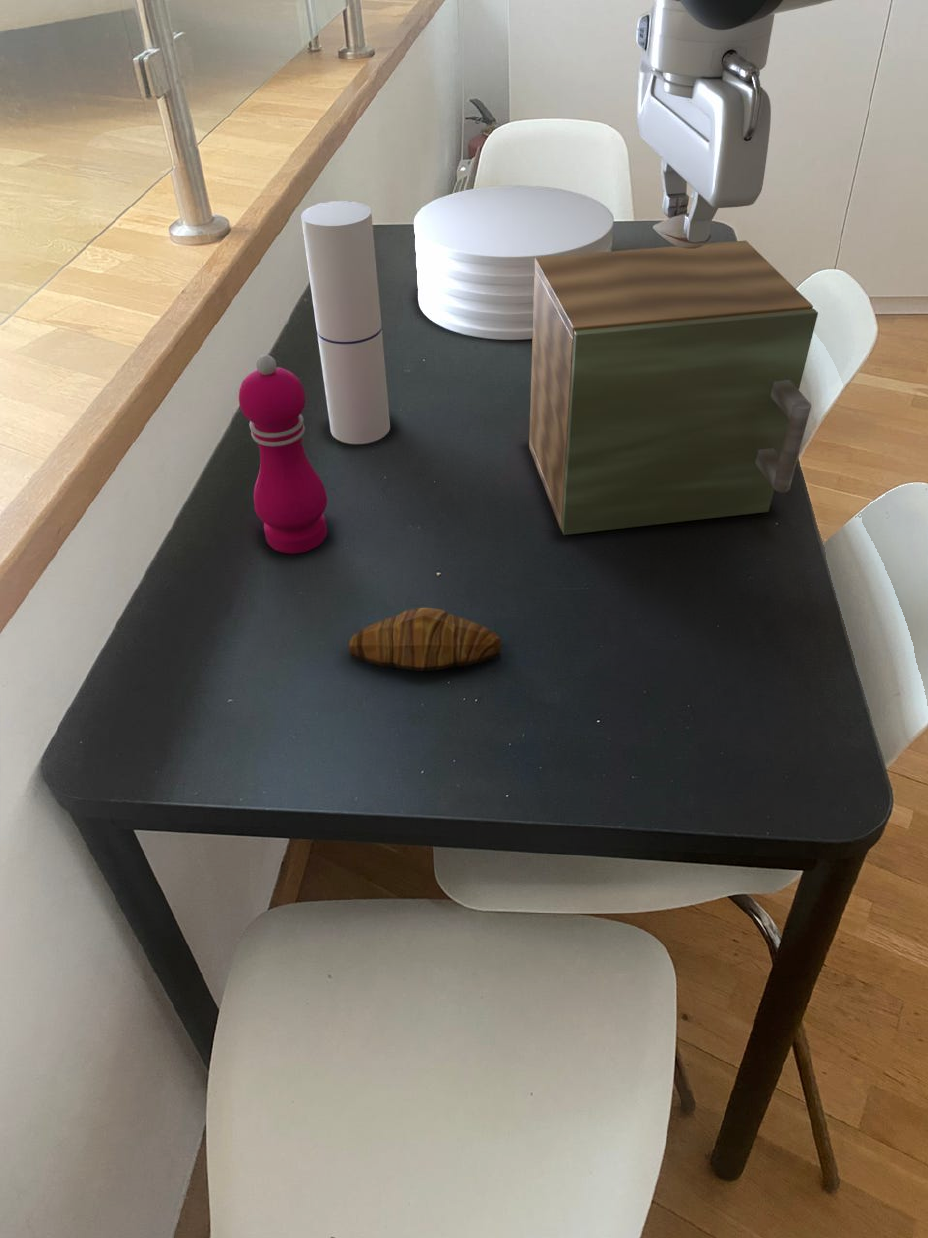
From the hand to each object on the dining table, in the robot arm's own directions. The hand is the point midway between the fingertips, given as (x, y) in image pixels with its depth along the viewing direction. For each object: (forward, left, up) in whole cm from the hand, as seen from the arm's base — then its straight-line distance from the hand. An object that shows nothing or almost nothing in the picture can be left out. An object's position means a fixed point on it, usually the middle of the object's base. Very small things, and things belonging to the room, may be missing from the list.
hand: (684, 226), depth 78 cm
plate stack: (+4, -54, -29) cm, 61 cm away
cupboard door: (-1, +6, -29) cm, 29 cm away
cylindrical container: (+29, -21, -29) cm, 46 cm away
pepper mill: (+37, -1, -29) cm, 47 cm away
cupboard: (-1, -5, -29) cm, 29 cm away
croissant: (+26, +19, -29) cm, 43 cm away
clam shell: (0, 0, -2) cm, 2 cm away
